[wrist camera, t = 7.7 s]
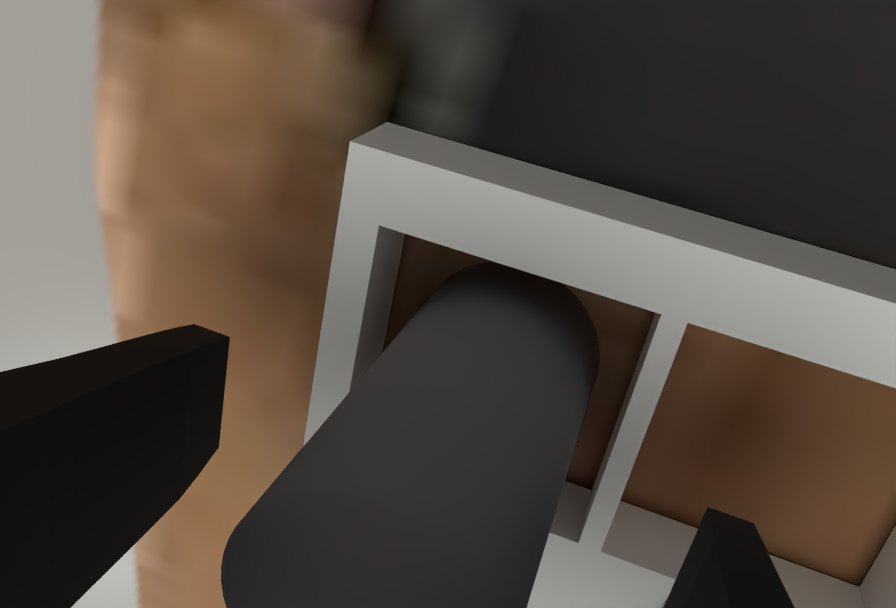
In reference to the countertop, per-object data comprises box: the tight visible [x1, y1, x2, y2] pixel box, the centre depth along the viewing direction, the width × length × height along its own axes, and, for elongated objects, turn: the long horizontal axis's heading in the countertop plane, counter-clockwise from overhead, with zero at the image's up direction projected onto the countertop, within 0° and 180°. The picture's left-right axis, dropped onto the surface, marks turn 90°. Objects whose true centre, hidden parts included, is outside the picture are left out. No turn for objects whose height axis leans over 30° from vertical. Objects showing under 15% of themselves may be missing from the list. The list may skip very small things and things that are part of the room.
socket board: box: [303, 122, 896, 608], centre depth 16 cm, size 14×11×2 cm
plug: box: [221, 262, 600, 608], centre depth 12 cm, size 3×3×7 cm
